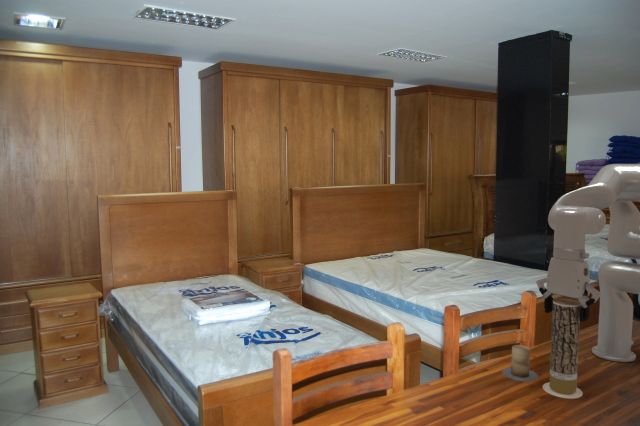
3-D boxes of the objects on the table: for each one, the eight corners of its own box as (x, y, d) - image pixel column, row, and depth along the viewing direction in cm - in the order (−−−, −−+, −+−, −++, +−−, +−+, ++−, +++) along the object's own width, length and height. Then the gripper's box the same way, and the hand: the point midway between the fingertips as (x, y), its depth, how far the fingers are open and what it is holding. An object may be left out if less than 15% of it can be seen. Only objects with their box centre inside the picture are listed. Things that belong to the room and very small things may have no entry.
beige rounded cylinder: (517, 369, 153) (518, 343, 152) (532, 374, 149) (533, 348, 148) (507, 373, 150) (508, 347, 149) (522, 379, 146) (523, 352, 145)
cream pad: (554, 379, 146) (554, 379, 146) (589, 392, 137) (589, 391, 137) (535, 388, 140) (535, 388, 140) (570, 402, 132) (570, 401, 132)
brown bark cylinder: (579, 396, 135) (584, 305, 132) (552, 394, 136) (556, 304, 134) (572, 385, 141) (576, 299, 139) (546, 383, 143) (550, 297, 140)
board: (516, 367, 157) (516, 363, 157) (591, 394, 138) (591, 390, 138) (493, 376, 150) (493, 373, 150) (568, 407, 131) (568, 402, 131)
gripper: (608, 258, 130) (605, 322, 132) (546, 248, 144) (543, 306, 146) (594, 261, 126) (591, 327, 127) (531, 251, 140) (528, 311, 141)
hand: (565, 316), depth 137 cm, fingers open, 9 cm apart
